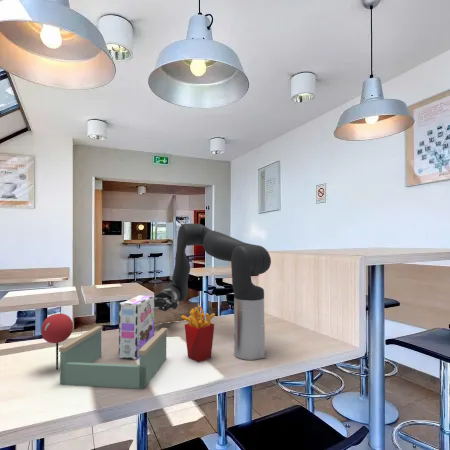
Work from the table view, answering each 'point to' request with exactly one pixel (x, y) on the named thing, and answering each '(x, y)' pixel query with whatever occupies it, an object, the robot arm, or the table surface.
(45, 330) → the lollipop
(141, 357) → the low partition wall
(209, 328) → the french fries
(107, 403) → the table surface
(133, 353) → the candy box
